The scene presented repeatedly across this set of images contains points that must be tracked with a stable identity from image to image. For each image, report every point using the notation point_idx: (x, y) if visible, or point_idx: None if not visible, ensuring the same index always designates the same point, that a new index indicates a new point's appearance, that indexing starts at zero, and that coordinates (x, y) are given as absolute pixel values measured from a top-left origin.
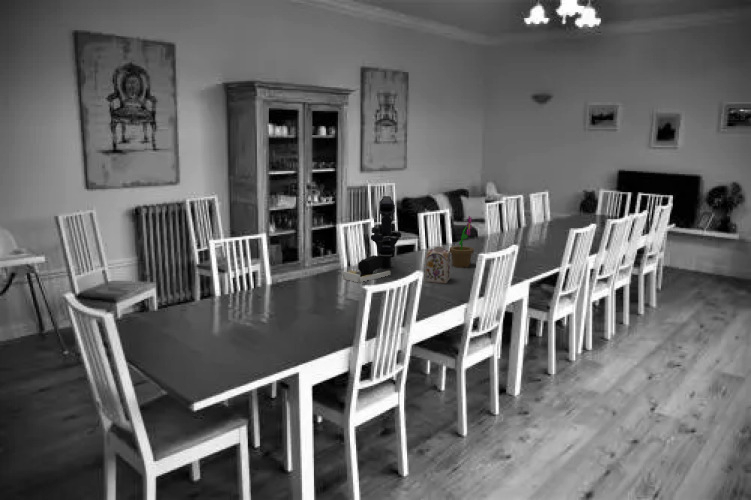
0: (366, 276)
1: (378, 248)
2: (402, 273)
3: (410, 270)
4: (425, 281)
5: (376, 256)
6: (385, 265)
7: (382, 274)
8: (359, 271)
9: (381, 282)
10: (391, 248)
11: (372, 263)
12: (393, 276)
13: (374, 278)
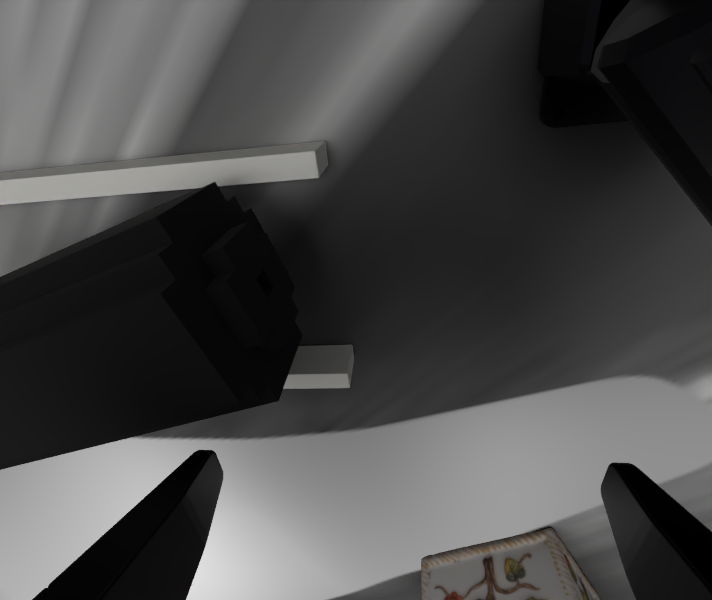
0: None
1: (115, 550)
2: (496, 375)
3: (666, 349)
4: (422, 558)
5: (163, 390)
6: (592, 87)
7: None
8: (35, 200)
9: (169, 437)
10: (627, 519)
11: (45, 455)
12: (352, 392)
13: None
